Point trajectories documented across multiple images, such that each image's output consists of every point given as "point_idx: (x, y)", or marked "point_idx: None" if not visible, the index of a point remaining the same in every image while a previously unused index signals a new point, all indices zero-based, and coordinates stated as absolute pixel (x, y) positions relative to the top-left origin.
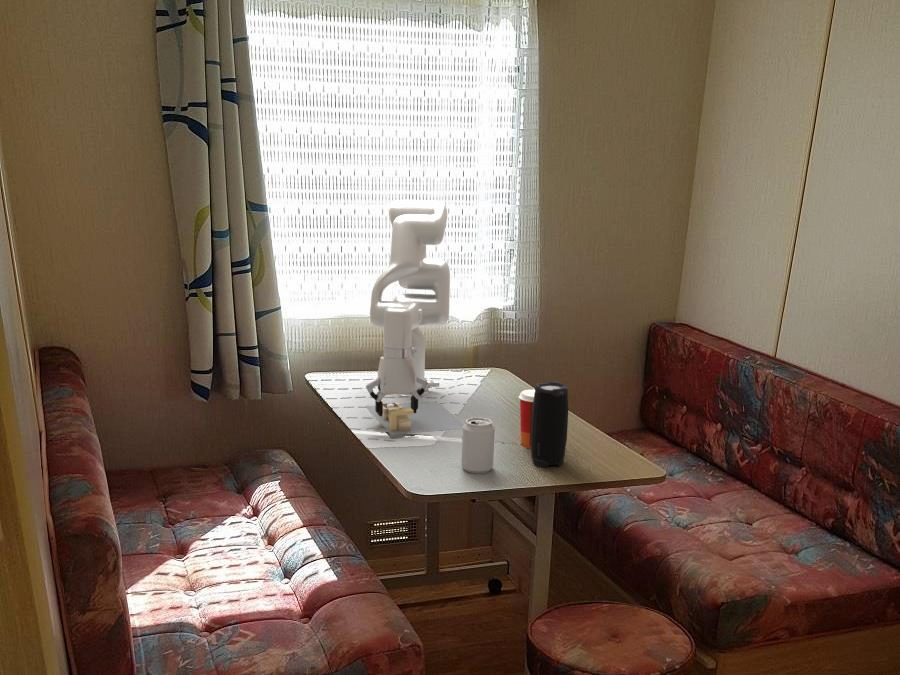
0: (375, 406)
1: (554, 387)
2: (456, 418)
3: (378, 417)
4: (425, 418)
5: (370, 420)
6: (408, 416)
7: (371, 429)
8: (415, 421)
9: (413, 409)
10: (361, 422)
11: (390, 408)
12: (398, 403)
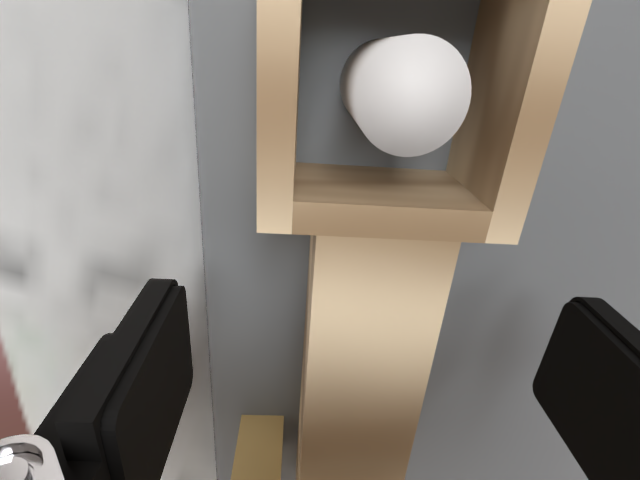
0: (79, 373)
1: None
2: None
3: (228, 104)
4: (636, 279)
5: (154, 46)
6: (540, 177)
7: (124, 303)
8: (509, 324)
9: (552, 407)
10: (46, 85)
11: (346, 241)
12: (582, 27)
